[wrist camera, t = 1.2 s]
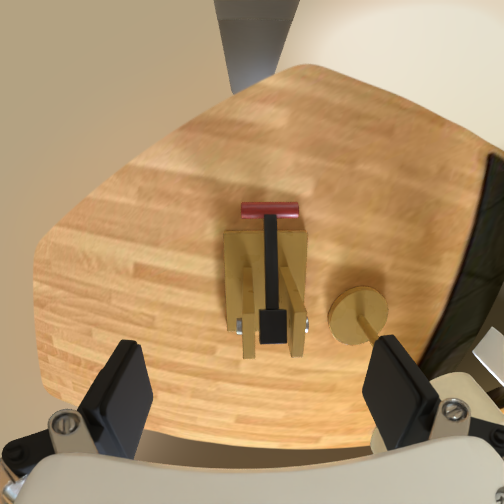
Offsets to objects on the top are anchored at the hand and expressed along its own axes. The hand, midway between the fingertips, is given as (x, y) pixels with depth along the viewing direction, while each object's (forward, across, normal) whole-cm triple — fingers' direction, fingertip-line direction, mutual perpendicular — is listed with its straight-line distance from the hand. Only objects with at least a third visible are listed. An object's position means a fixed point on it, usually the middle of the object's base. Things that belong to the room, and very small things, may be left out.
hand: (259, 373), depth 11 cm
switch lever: (+16, -2, +2) cm, 16 cm away
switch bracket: (+23, -2, +5) cm, 23 cm away
